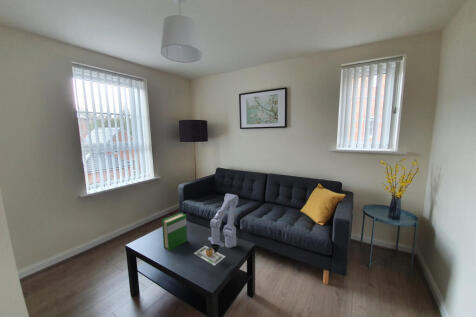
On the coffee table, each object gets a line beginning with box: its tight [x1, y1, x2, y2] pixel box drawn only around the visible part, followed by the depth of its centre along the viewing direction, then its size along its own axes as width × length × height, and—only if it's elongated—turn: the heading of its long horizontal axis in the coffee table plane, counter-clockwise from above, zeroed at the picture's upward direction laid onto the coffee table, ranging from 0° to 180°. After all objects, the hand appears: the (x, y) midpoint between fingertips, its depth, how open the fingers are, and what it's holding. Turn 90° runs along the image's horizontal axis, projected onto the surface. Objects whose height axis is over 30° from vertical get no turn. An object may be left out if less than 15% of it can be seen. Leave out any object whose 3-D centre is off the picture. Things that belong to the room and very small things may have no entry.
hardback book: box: [161, 212, 188, 252], centre depth 159 cm, size 18×7×24 cm, turn 141°
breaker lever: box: [206, 246, 213, 257], centre depth 144 cm, size 4×3×5 cm
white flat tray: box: [193, 245, 226, 267], centre depth 145 cm, size 12×22×2 cm, turn 53°
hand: (215, 252), depth 139 cm, fingers closed
